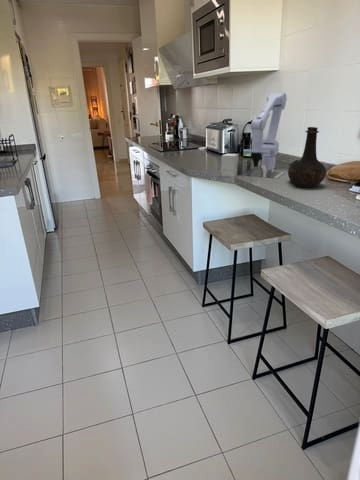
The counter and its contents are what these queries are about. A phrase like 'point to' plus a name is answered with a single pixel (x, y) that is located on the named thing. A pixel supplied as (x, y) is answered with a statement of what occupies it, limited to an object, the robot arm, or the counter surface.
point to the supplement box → (230, 165)
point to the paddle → (263, 167)
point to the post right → (248, 164)
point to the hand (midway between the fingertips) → (255, 166)
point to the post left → (240, 168)
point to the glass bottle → (308, 164)
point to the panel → (266, 174)
